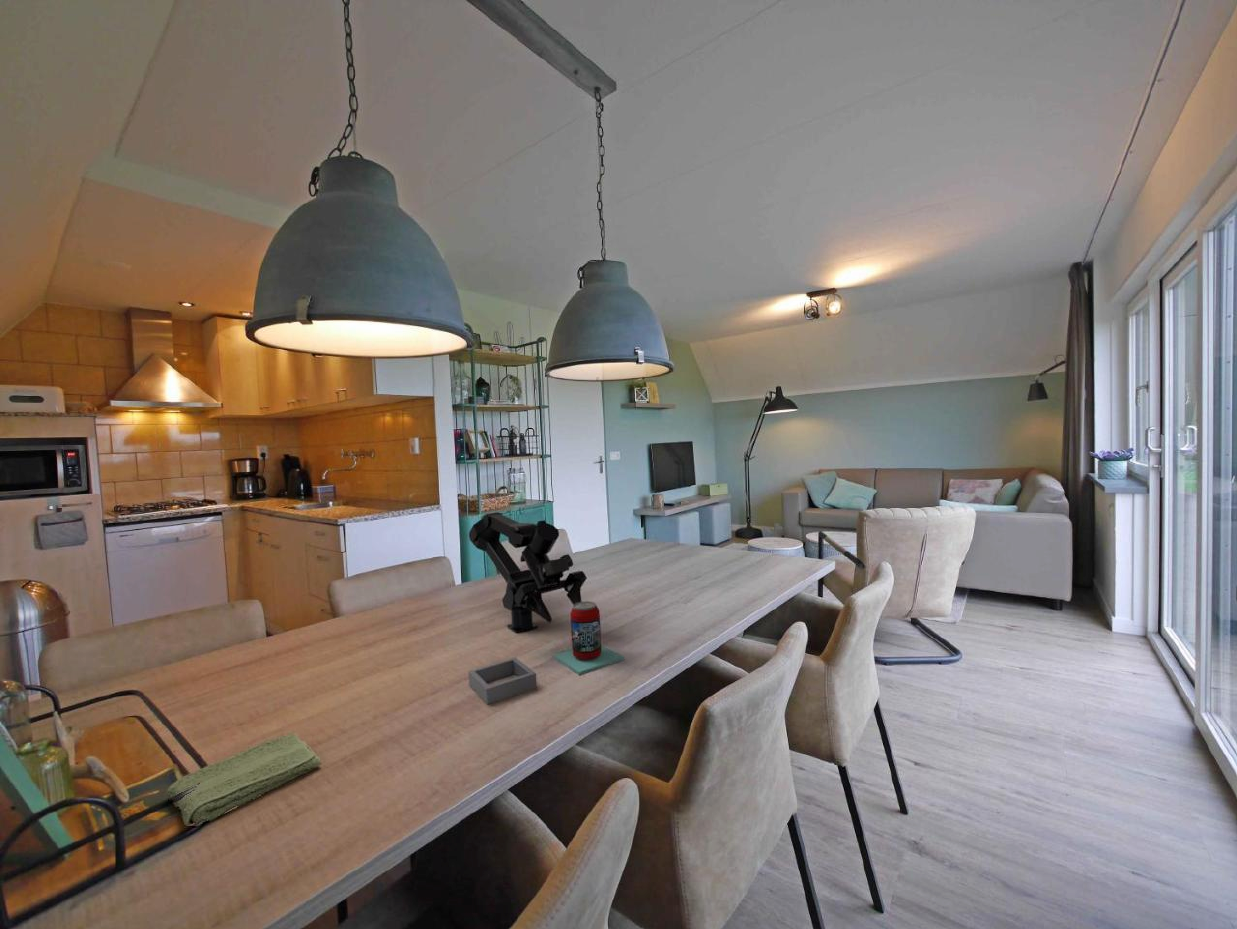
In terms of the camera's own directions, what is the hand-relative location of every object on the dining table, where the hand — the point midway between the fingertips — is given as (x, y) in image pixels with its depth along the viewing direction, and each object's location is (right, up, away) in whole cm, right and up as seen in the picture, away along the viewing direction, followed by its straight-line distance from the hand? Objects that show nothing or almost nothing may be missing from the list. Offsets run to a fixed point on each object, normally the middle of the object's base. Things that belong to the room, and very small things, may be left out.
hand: (566, 616), depth 126 cm
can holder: (-12, -9, -18) cm, 23 cm away
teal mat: (+6, -8, -6) cm, 11 cm away
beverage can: (+5, -8, -6) cm, 11 cm away
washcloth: (-45, -13, -45) cm, 65 cm away
